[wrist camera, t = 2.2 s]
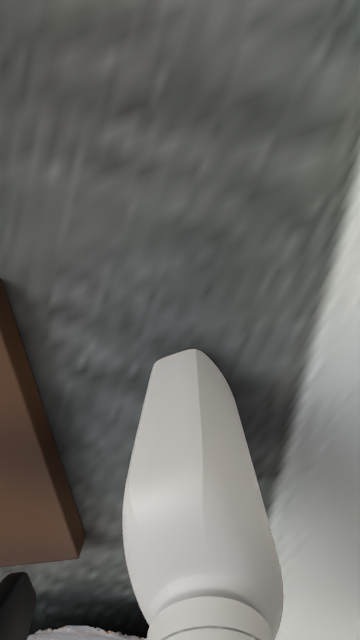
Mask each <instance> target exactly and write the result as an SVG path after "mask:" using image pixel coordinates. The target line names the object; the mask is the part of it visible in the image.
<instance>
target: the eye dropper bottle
mask: <svg viewBox="0 0 360 640" xmlns="http://www.w3.org/2000/svg"><path fill="white" fill-rule="evenodd" d="M122 523H123V543H124V551H125V558H126V563H127V568H128V573H129V577H130V580H131V584H132V587H133V591H134V593H135V596H136V599H137V601H138V604H139V607H140V609H141V611H142V613H143V615H144V617H145V619H146V621H147V623H148V624H149V626H150V627H149V629H148V634H147V640H274V639H275V637H276V635H277V632H278V629H279V626H280V622H281V617H282V611H283V583H282V576H281V569H280V564H279V560H278V556H277V552H276V548H275V544H274V540H273V537H272V533H271V529H270V526H269V522H268V518H267V515H266V511H265V507H264V504H263V500H262V496H261V493H260V489H259V486H258V482H257V478H256V475H255V471H254V468H253V464H252V460H251V457H250V453H249V450H248V446H247V442H246V439H245V435H244V431H243V428H242V424H241V421H240V417H239V413H238V410H237V406H236V403H235V400H234V397H233V394H232V392H231V389H230V387H229V385H228V383H227V381H226V380H225V378H224V376H223V375H222V373H221V372H220V370H219V369H218V368H217V366H216V365H215V364H214V363H213V362H212V360H211V359H210V358H209V357H208V356H207V355H206V354H204V353H203V352H202V351H200V350H198V349H188V350H185V351H181V352H178V353H175V354H173V355H170V356H167V357H164V358H161V359H160V360H158V361H157V362H155V364H154V366H153V368H152V372H151V376H150V380H149V384H148V388H147V392H146V396H145V401H144V405H143V409H142V413H141V417H140V422H139V426H138V430H137V434H136V439H135V443H134V447H133V452H132V456H131V461H130V466H129V471H128V476H127V480H126V485H125V493H124V502H123V518H122Z"/></svg>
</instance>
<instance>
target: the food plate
mask: <svg viewBox="0 0 360 640" xmlns="http://www.w3.org/2000/svg"><path fill="white" fill-rule="evenodd" d="M27 640H147V638H146V639H145V638H144V637H143V638H140V639H139V637H136V636H126V633H125V635H124V636H123V635H122V633H121V632H117V633H115V632H112V631H108V632H106V631H104V630H102V629H100V628H98V627H97V628H95V629H94V627H89V626H71V625H65V626H64V627H61V628H59V629H58V630H56V629H54V630H51V628H50V629H49V628H48V630H46V629H45V630H44V631H41V629H40V630H38V631H37V632H36V633H35V634H32V635H29V636H28V638H27Z"/></svg>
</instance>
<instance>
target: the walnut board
mask: <svg viewBox="0 0 360 640" xmlns="http://www.w3.org/2000/svg"><path fill="white" fill-rule="evenodd" d="M84 540H85V534H84V531H83V528H82V525H81V522H80V519H79V515H78V512H77V509H76V506H75V503H74V500H73V497H72V494H71V491H70V488H69V485H68V482H67V479H66V476H65V473H64V470H63V467H62V463H61V460H60V457H59V454H58V451H57V448H56V445H55V442H54V439H53V436H52V433H51V430H50V427H49V424H48V421H47V418H46V415H45V411H44V408H43V405H42V402H41V399H40V396H39V393H38V390H37V387H36V384H35V381H34V378H33V375H32V372H31V369H30V366H29V363H28V359H27V356H26V353H25V350H24V347H23V344H22V341H21V338H20V335H19V332H18V329H17V326H16V323H15V320H14V317H13V314H12V311H11V307H10V304H9V301H8V298H7V295H6V292H5V289H4V286H3V283H2V280H1V279H0V567H6V566H15V565H25V564H34V563H43V562H52V561H61V560H71V559H78V558H79V555H80V552H81V549H82V546H83V543H84Z"/></svg>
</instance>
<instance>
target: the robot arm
mask: <svg viewBox="0 0 360 640" xmlns="http://www.w3.org/2000/svg"><path fill="white" fill-rule="evenodd" d="M35 606H36V593H35V591H34V588H33V586H32V583H31V581H30V578H29V576H28V574H27V573H26V572H17V573H11V574H9V575H8V576H6V577H5V578H4V579H3V580H2V581H1V582H0V640H27V638H28V634H29V630H30V626H31V622H32V618H33V614H34V610H35Z"/></svg>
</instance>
